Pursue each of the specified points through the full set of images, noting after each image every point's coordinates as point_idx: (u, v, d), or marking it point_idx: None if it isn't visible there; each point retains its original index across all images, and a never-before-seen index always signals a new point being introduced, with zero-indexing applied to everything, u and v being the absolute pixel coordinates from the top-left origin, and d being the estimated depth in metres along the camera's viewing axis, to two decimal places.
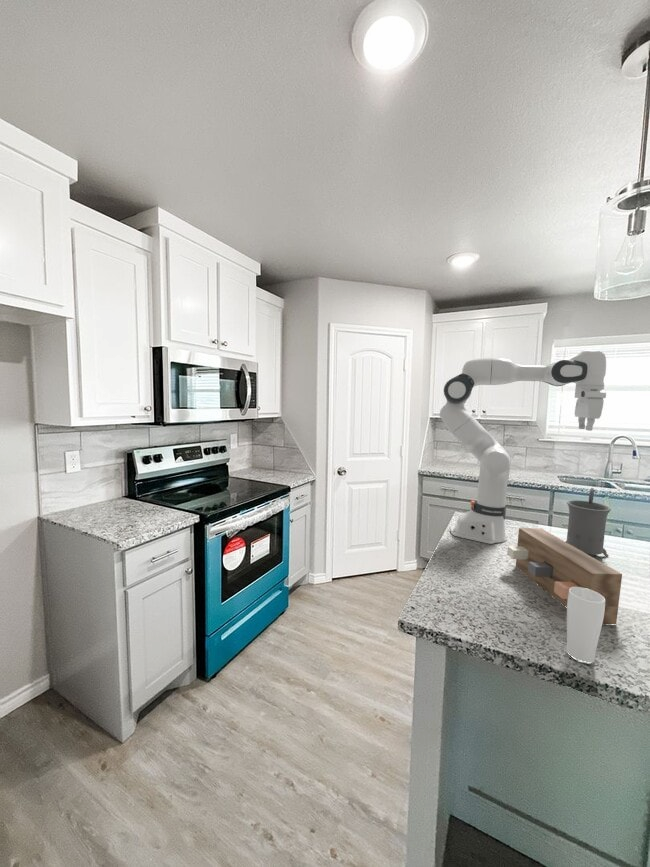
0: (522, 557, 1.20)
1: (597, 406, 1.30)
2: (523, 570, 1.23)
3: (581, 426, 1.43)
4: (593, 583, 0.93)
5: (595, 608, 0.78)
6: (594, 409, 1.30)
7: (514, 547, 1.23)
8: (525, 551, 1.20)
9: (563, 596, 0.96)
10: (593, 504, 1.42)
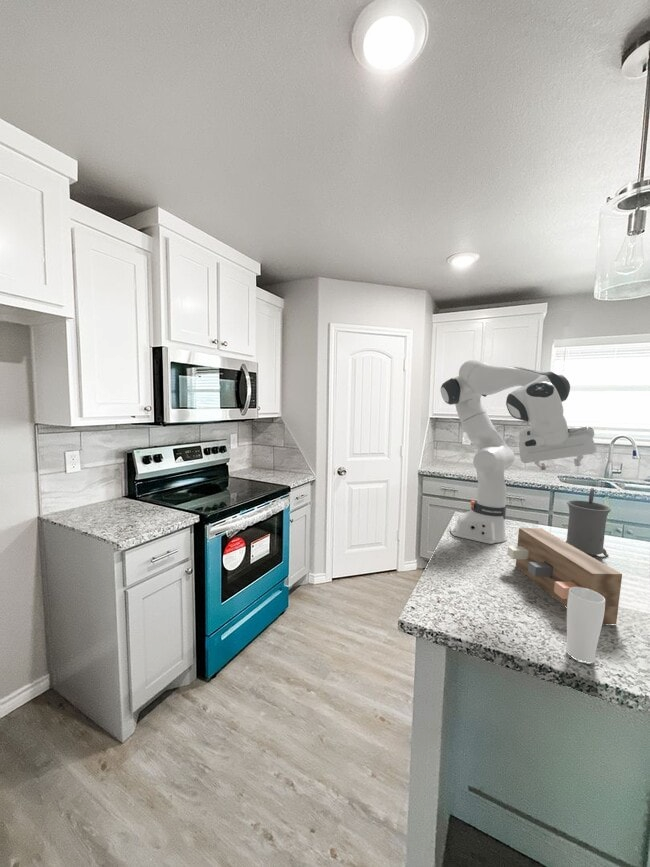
0: (522, 557, 1.20)
1: (519, 451, 1.17)
2: (523, 570, 1.23)
3: (574, 462, 1.13)
4: (593, 583, 0.93)
5: (595, 608, 0.78)
6: None
7: (514, 547, 1.23)
8: (525, 551, 1.20)
9: (563, 596, 0.96)
10: (593, 504, 1.42)
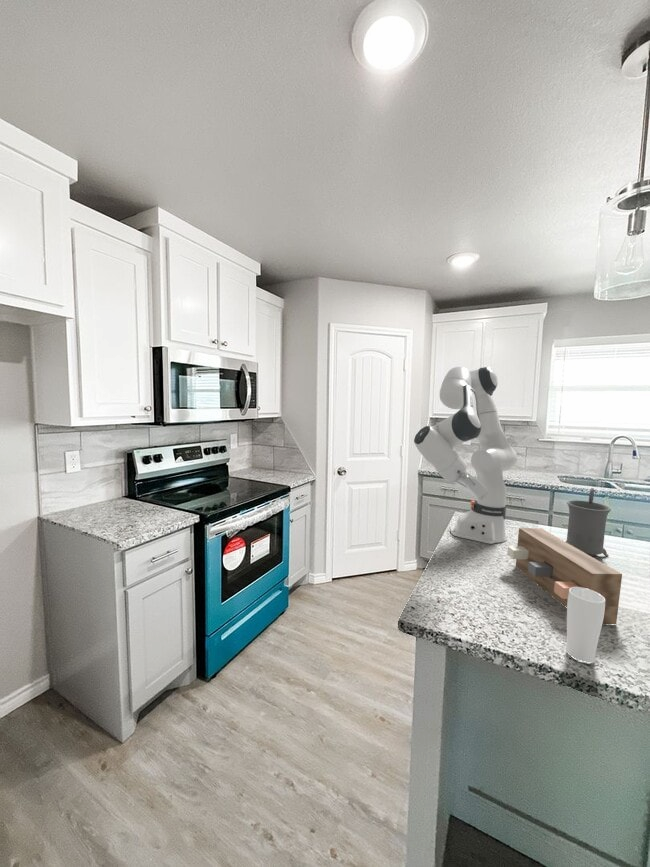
0: (522, 557, 1.20)
1: None
2: (523, 570, 1.23)
3: None
4: (593, 583, 0.93)
5: (595, 608, 0.78)
6: None
7: (514, 547, 1.23)
8: (525, 551, 1.20)
9: (563, 596, 0.96)
10: (593, 504, 1.42)
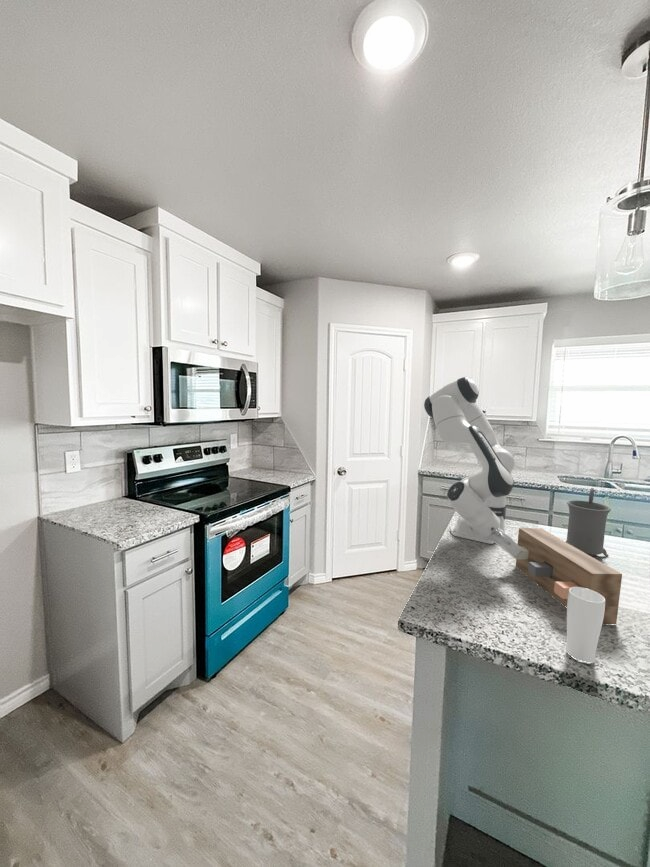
0: (525, 557, 1.20)
1: None
2: (523, 570, 1.23)
3: None
4: (593, 583, 0.93)
5: (595, 608, 0.78)
6: None
7: None
8: (528, 551, 1.20)
9: (563, 596, 0.96)
10: (593, 504, 1.42)
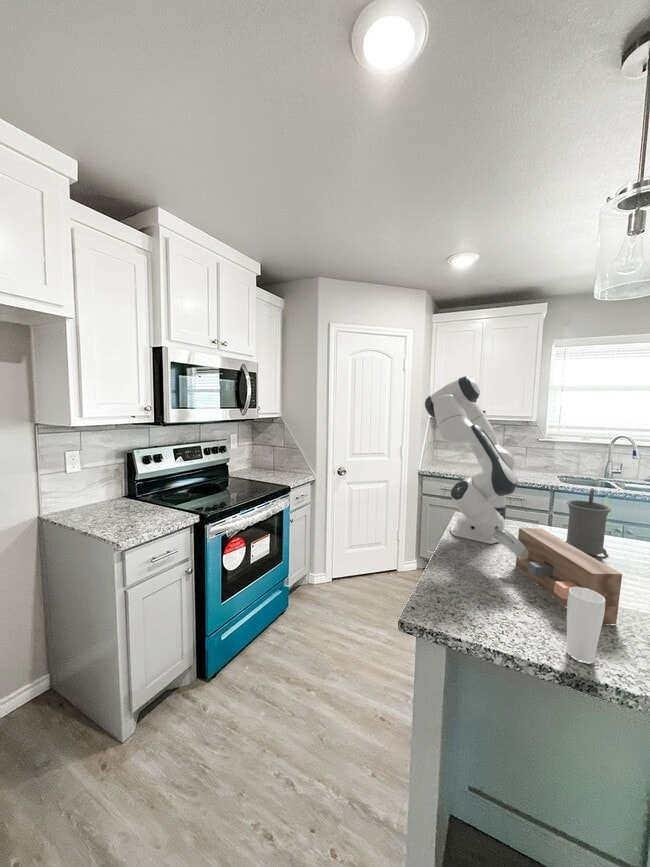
0: None
1: None
2: (523, 570, 1.23)
3: None
4: (593, 583, 0.93)
5: (595, 608, 0.78)
6: None
7: None
8: None
9: (563, 596, 0.96)
10: (593, 504, 1.42)
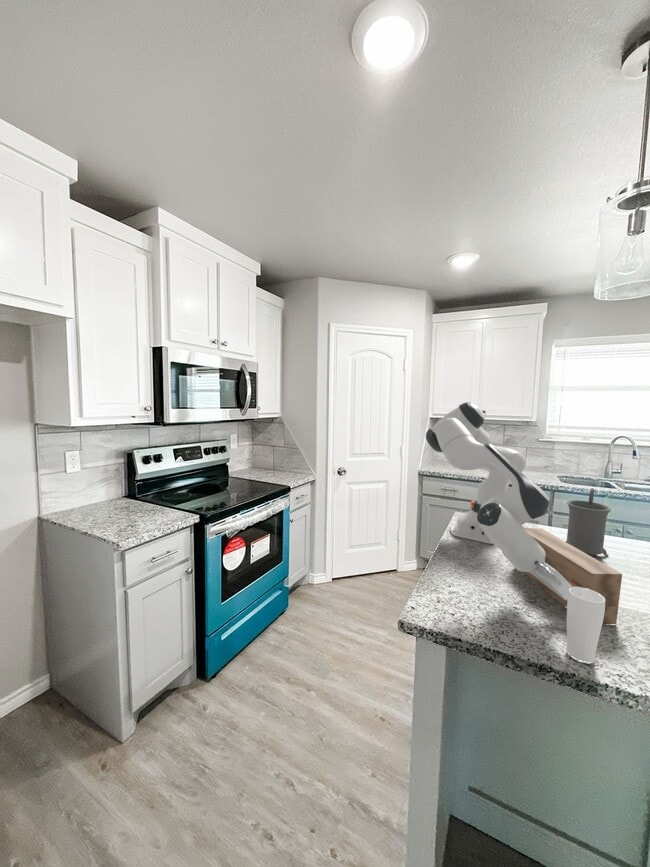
0: None
1: None
2: None
3: None
4: (593, 583, 0.93)
5: (595, 608, 0.78)
6: None
7: None
8: None
9: None
10: (593, 504, 1.42)
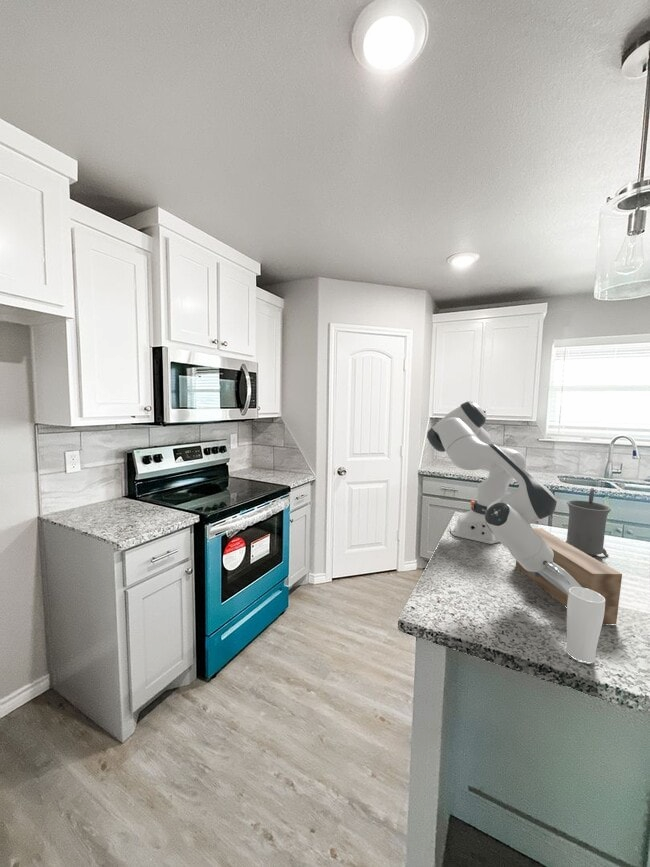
0: None
1: None
2: (523, 570, 1.23)
3: None
4: (593, 583, 0.93)
5: (595, 608, 0.78)
6: None
7: None
8: None
9: None
10: (593, 504, 1.42)
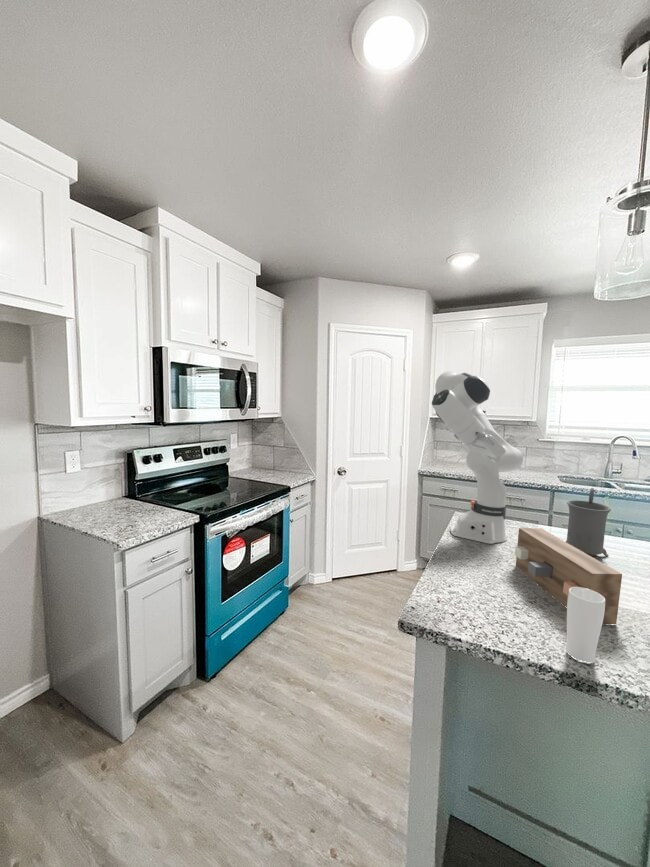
0: None
1: None
2: (523, 570, 1.23)
3: None
4: (593, 583, 0.93)
5: (595, 608, 0.78)
6: None
7: (522, 547, 1.23)
8: None
9: None
10: (593, 504, 1.42)
